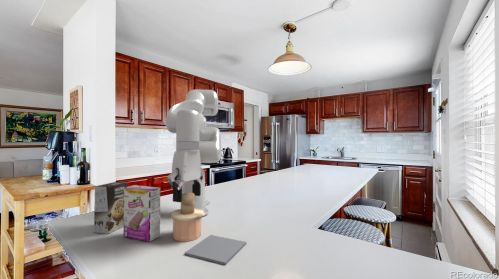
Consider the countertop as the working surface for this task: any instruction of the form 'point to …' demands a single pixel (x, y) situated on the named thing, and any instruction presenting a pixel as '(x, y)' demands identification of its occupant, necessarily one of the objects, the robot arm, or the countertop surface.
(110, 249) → the countertop surface
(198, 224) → the bowl
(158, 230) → the candy bar box
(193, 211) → the lid
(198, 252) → the mat
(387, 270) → the countertop surface
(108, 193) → the coffee box
